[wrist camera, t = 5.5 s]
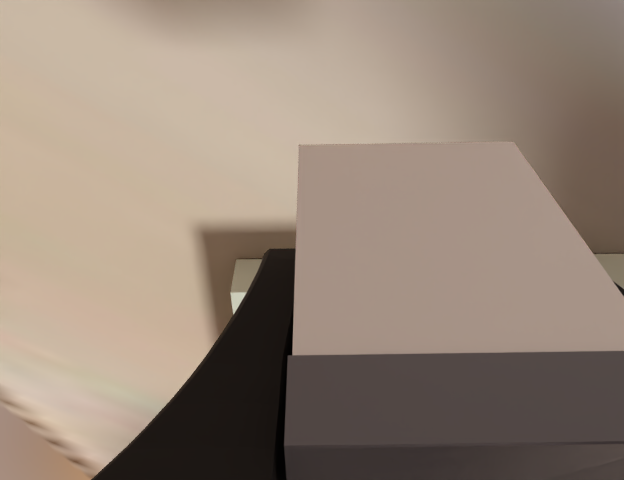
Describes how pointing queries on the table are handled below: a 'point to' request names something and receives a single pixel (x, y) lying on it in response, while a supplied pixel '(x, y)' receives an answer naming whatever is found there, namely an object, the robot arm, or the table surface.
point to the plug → (447, 322)
